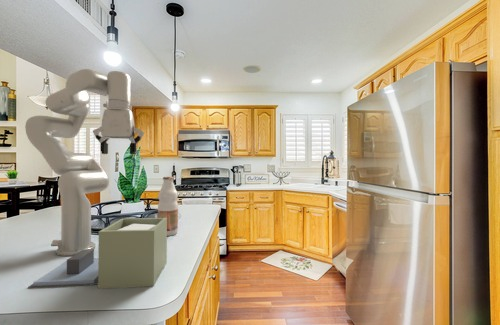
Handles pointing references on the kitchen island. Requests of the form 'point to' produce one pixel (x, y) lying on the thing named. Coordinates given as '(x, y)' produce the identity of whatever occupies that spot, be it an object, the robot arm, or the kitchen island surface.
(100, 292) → the kitchen island surface
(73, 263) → the lid
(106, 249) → the storage box
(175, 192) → the fruit juice
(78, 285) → the mat
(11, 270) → the kitchen island surface
